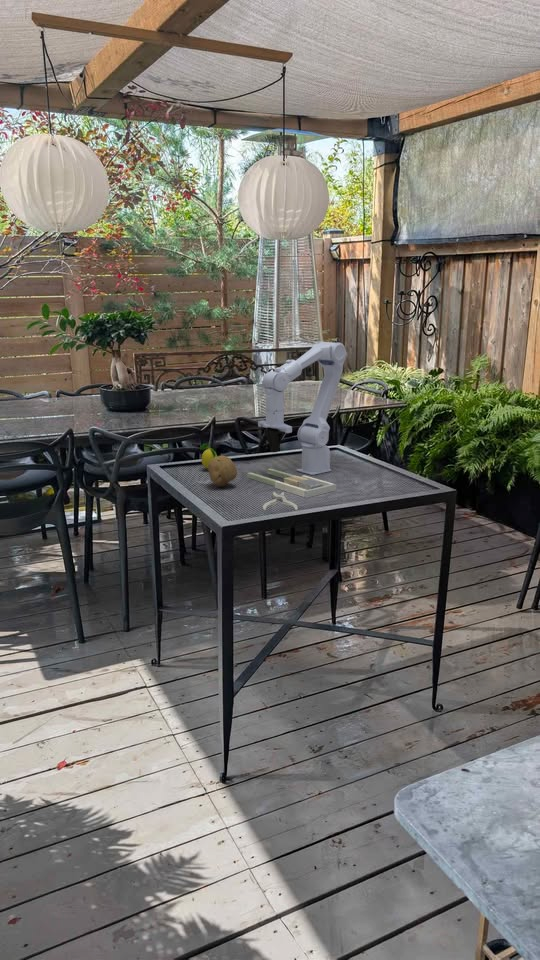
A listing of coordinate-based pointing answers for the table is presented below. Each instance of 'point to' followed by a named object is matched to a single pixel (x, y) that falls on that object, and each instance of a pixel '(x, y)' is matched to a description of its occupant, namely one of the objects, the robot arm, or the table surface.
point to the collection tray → (303, 492)
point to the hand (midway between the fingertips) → (274, 451)
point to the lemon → (207, 454)
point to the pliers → (279, 498)
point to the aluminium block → (309, 484)
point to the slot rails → (266, 479)
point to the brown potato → (221, 470)
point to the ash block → (294, 480)
